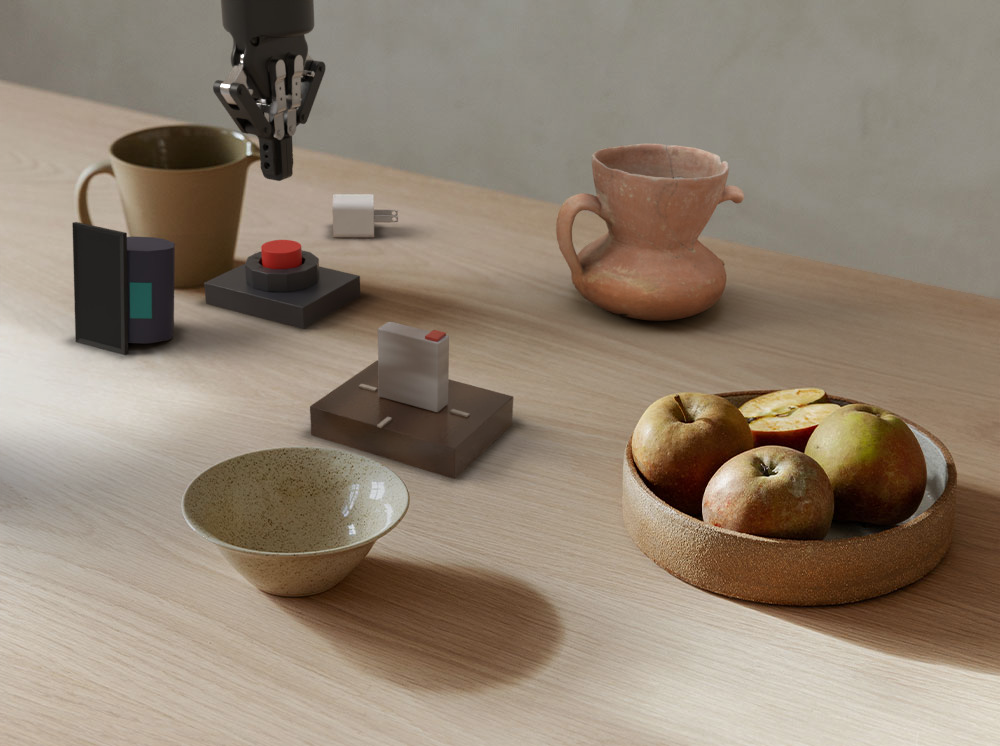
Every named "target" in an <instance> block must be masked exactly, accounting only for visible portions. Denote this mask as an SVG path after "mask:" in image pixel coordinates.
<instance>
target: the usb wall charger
mask: <svg viewBox="0 0 1000 746" xmlns="http://www.w3.org/2000/svg"><path fill="white" fill-rule="evenodd" d="M398 211H399V210H398V209H377V208H376V209H375V195H374V193H372V194H371V193H370V194H369V193H367V194H366V193H364V194H363V193H362V194H360V193H359V194H358V193H356V194H355V193H343V194H342V193H333V196H332V230H333V231H332V234H333V238H334V239H335V238H340V239H341V238H342V239H343V238H350V239H351V238H355V239H356V238H361V239H363V238H365V239H366V238H369V239H370V238H371V239H373V238H375V223H376V224H377V223H378V224H379V223H380V224H382V223H383V224H384V223H385V224H386V223H387V224H388V223H398V222H399V216H398V215H399V214H398ZM393 212H394V213H395V214H393ZM393 218H395V220H393Z"/></svg>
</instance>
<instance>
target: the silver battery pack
mask: <svg viewBox="0 0 1000 746" xmlns="http://www.w3.org/2000/svg"><path fill="white" fill-rule="evenodd" d="M377 360H378V381H379V397H382V398H386V399H390V400H393V401H397V402H401V403H404V404H408V405H412V406H415V407H419V408H423V409H426V410H430V411H434V412H439V411H440V410H441V409H443V408H444V407H445V406H446V405H447V404H448V379H449V375H450V374H449V372H450V371H449V370H450V369H449V368H450V335H447V332H445V331H441V330H438V329H432V330H428V329H423V328H419V327H414V326H411V325H407V324H402V323H398V322H393V321H387V322H385V323H384V324H383V325H381V326H379V327H378V328H377Z"/></svg>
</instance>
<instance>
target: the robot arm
mask: <svg viewBox="0 0 1000 746" xmlns="http://www.w3.org/2000/svg"><path fill="white" fill-rule="evenodd" d="M314 4H315V3H314V0H220V7H221V22H222V27H223V29H224V30H225V31H226V32H227V33H229V34H230V35H231V37H232V40H233V41H232V43H233V44H232V51H231V54H230V65H231V67H232V68H231V70H230V72H229V74H228V75H227V77H226V78H225V80H221V79H217V80H215V81H214V82H213V86H212V90H213V93H214V95H215V96H216V98H217V99H218V101H219V102H220V103H221V105H222V106H223V108H224V109H225V111H226V112H227V113H228V115H229V116H230V117H231V119H232V120H233V122H234V124H235V125H236V126H237V128H238V129H239V131H240V132H241V133H242V134H246V135H248V134H249V135H253V136H256V137H257V139H258V145H259V157H260V158H259V162H260V170H261V173H262V175H263V178H265V179H266V180H272V181H277V182H281V181H283V180H287V179H288V178H291V177H292V176H293V172H294V171H293V168H294V149H293V136H294V135H295V134H296V132H297V127H298V125H300V124H301V125H305V124H306V123H307V122H308V119H309V117H310V114H311V111H312V109H313V105H314V103H315V100H316V98H317V95H318V92H319V89H320V87H321V84H322V81H323V78H324V76H325V73H326V63H325V62H324V61H321V60H314V59H313V58H312V57H311V56H310V55H309V54H308V53H309V44H308V42H307V40H306V37H305V35H308V34H310V33H311V32H312V31H313V30H314V28H315V7H314V6H315V5H314Z"/></svg>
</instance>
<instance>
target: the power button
mask: <svg viewBox="0 0 1000 746" xmlns="http://www.w3.org/2000/svg"><path fill="white" fill-rule="evenodd" d="M260 249H261V250H260V252H262V265H263V267H266V268H271V269H289V268H295V267H298V266H300V265H302V250H303V249H302V244H301V243H300V242H298V241H295V240H293V239H274V240H270V241H266V242H264V243H262V245H261V246H260Z"/></svg>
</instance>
